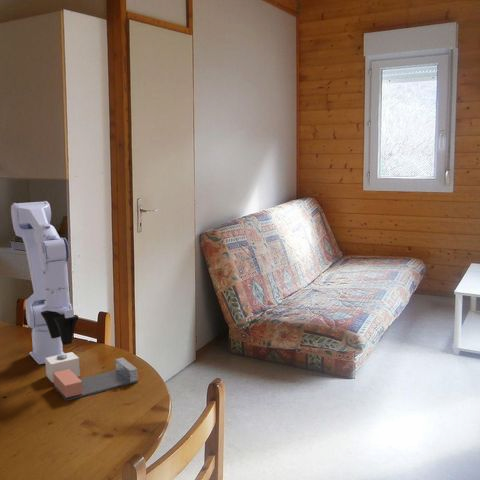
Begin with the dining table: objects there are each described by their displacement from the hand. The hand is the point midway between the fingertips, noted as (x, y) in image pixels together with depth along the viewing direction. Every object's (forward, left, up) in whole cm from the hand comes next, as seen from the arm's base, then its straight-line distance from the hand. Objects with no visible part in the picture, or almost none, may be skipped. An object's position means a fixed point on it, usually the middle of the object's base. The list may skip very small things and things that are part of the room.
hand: (61, 340), depth 148 cm
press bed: (+10, +5, -10) cm, 14 cm away
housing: (0, 0, -10) cm, 10 cm away
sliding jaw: (+10, -2, -9) cm, 13 cm away
